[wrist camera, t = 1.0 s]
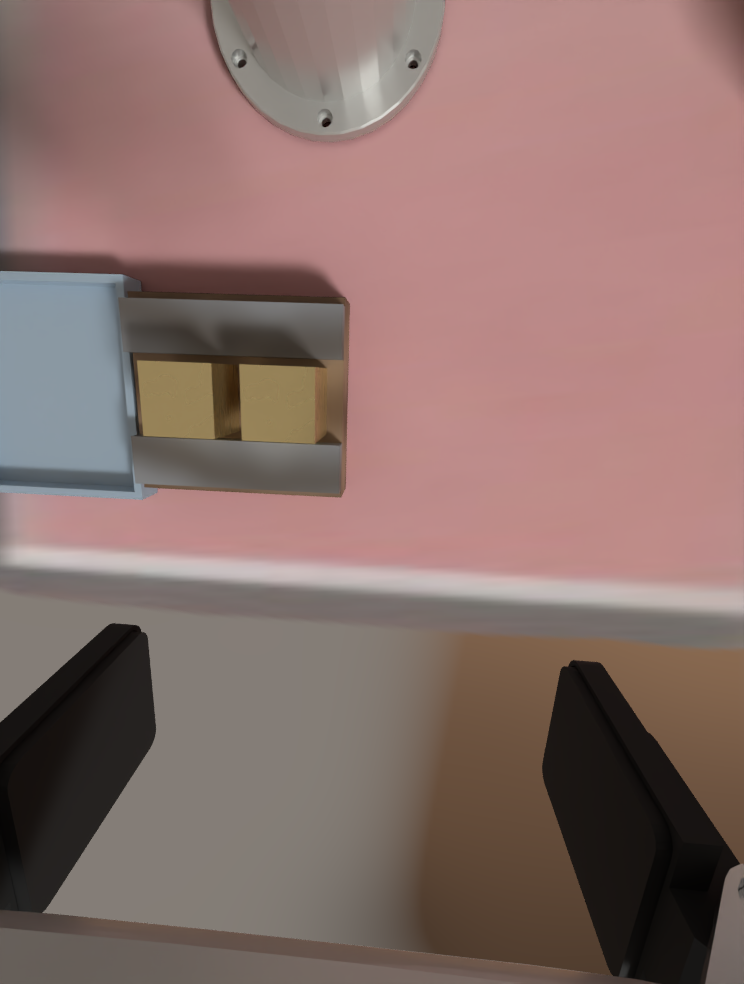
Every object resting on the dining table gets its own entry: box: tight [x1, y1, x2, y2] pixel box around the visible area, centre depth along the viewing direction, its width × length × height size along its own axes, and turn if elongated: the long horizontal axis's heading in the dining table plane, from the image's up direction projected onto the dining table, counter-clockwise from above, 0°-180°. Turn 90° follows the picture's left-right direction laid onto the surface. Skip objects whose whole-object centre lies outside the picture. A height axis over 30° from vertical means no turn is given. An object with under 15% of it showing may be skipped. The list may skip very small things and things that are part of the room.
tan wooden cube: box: [137, 360, 240, 439], centre depth 27 cm, size 4×4×4 cm
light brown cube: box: [239, 364, 327, 444], centre depth 26 cm, size 4×4×4 cm
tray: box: [0, 271, 158, 500], centre depth 31 cm, size 14×12×2 cm
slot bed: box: [118, 291, 350, 497], centre depth 29 cm, size 12×13×4 cm
